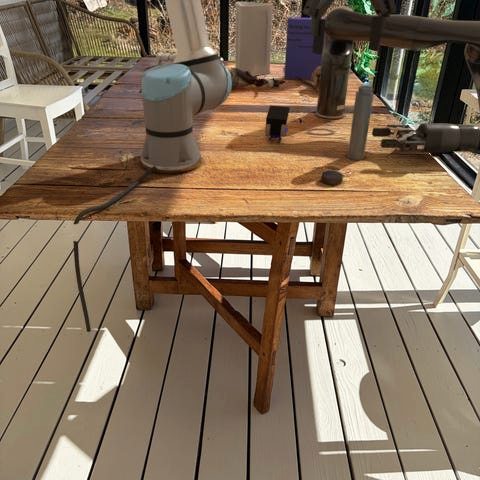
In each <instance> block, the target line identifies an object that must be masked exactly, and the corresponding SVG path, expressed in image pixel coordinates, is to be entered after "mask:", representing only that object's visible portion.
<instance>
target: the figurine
mask: <svg viewBox="0 0 480 480" xmlns="http://www.w3.org/2000/svg"><path fill="white" fill-rule="evenodd" d="M230 69H231V72H230V75H231V79H232V87H231V89H241V88H247V87H249V86H255V87H256V88H262V87H268V88H271V89H273V88H280V86H281V85H284V84H286V83H287V79H275V78H274V77H272V78H265V77H262V78H261V77H257V76H252V75H251V73H250V72H249V71H245V72H244V71H242V70H240V69H237V68H235V67H232V66H231V67H230Z"/></svg>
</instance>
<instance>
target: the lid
mask: <svg viewBox="0 0 480 480" xmlns="http://www.w3.org/2000/svg"><path fill="white" fill-rule="evenodd" d="M343 179H344V176H343V174H342V172H340V171H338V170H337V171H336V170H324V171H322V173H321V176H320V181H321V182H322V183H323V184H325V185H328V186H339V185H341V184H342V183H343Z"/></svg>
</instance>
